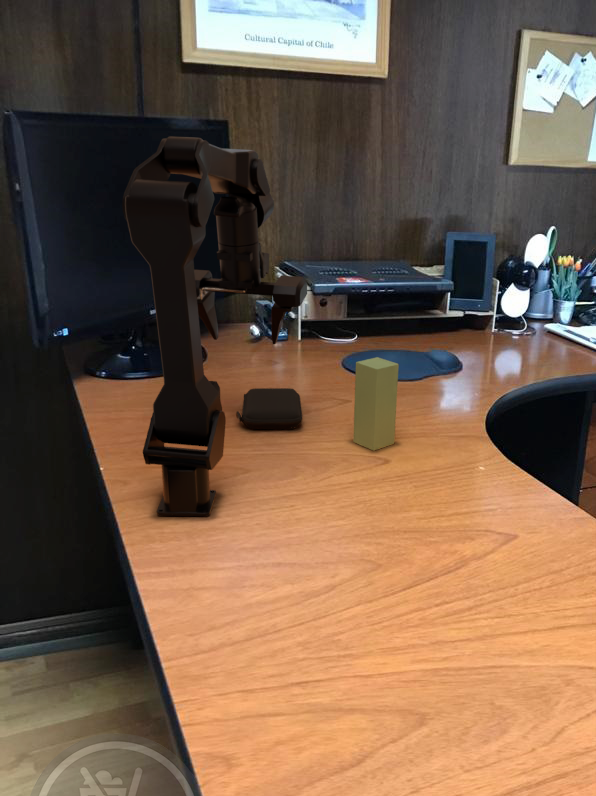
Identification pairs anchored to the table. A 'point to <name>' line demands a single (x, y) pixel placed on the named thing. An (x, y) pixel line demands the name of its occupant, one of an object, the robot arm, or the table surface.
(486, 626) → the table surface
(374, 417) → the block
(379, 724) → the table surface
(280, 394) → the carrying case
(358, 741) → the table surface
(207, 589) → the table surface
